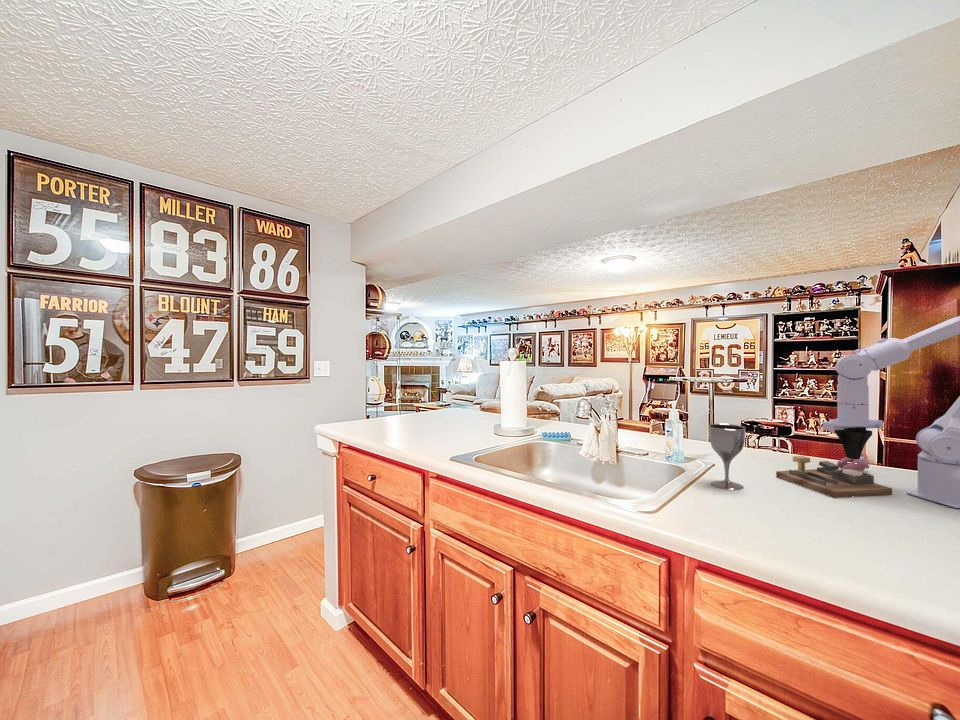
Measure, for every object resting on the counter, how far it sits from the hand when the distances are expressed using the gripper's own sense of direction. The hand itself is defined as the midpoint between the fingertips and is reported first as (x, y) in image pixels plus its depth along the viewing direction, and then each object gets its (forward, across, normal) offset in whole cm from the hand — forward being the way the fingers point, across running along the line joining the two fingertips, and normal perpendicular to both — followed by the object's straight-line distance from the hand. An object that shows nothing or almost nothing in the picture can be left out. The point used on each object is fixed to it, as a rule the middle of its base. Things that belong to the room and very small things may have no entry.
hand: (853, 458), depth 100 cm
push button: (+5, 0, 0) cm, 5 cm away
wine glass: (+7, +29, -6) cm, 31 cm away
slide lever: (+5, +8, -6) cm, 11 cm away
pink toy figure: (+8, -12, -11) cm, 18 cm away
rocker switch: (+4, 0, -7) cm, 8 cm away
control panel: (+7, +4, -2) cm, 8 cm away
